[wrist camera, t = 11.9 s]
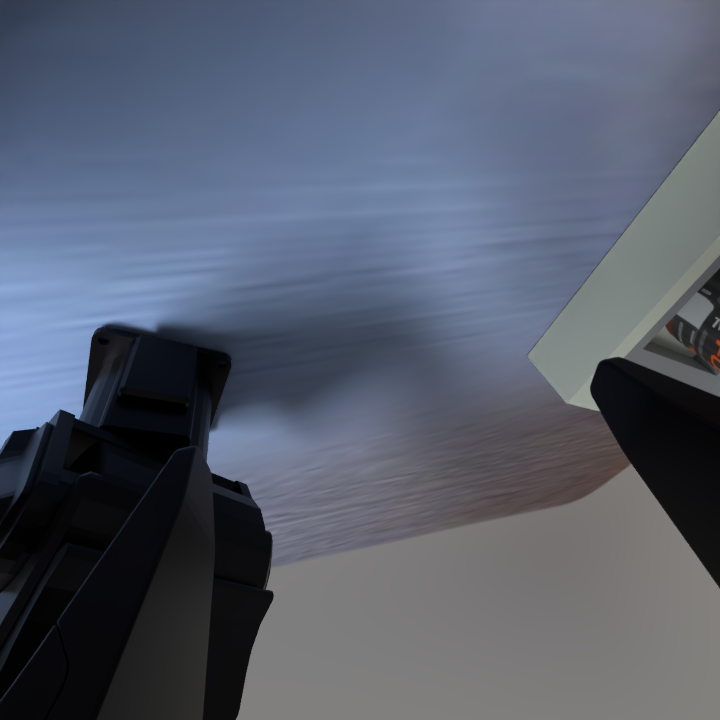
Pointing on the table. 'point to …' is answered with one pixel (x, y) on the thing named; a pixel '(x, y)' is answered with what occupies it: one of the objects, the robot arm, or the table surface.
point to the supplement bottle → (700, 322)
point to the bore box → (644, 286)
